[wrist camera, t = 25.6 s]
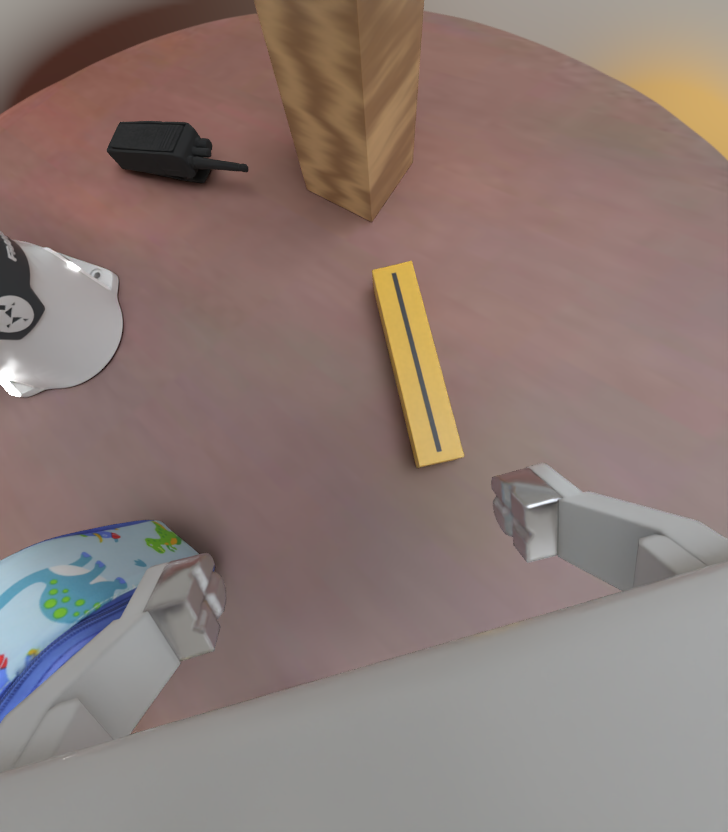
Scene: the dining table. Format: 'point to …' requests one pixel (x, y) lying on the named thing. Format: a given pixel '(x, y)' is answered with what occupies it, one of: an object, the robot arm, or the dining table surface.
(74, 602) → the lunch box
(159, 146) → the walkie-talkie
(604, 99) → the dining table surface
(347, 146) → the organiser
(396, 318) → the pencil case
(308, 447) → the dining table surface
